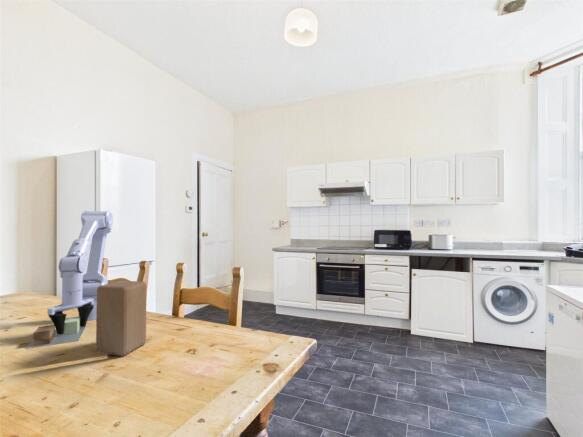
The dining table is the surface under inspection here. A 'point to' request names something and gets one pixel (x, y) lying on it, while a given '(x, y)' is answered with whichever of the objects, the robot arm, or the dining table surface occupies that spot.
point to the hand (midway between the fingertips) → (71, 330)
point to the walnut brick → (43, 335)
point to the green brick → (71, 325)
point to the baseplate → (61, 338)
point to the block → (121, 317)
